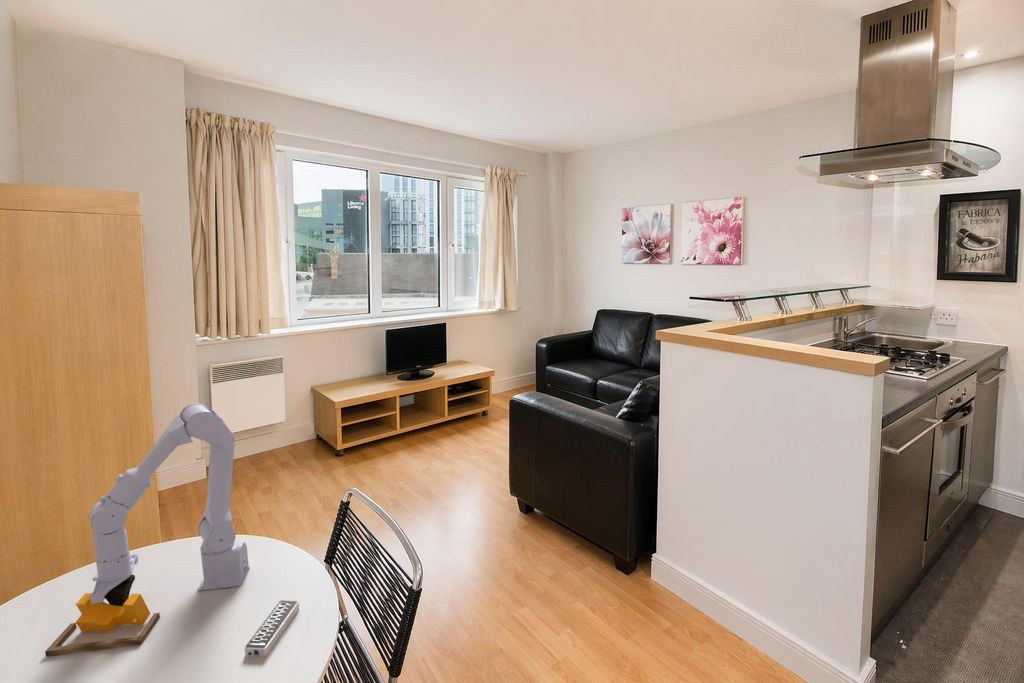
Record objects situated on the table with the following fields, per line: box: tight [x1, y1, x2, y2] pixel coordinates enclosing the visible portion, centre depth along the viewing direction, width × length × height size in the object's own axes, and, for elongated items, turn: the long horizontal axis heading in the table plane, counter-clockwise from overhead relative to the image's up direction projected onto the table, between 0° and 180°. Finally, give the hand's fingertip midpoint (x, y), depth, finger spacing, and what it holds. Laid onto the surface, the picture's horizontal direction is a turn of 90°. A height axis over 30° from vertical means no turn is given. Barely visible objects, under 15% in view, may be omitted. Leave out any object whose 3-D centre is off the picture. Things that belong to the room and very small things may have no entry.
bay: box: [44, 612, 161, 658], centre depth 107 cm, size 17×8×1 cm, turn 101°
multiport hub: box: [244, 599, 300, 659], centre depth 109 cm, size 4×14×2 cm, turn 177°
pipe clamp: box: [75, 592, 151, 633], centre depth 109 cm, size 12×4×6 cm, turn 89°
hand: (120, 611), depth 113 cm, fingers closed
